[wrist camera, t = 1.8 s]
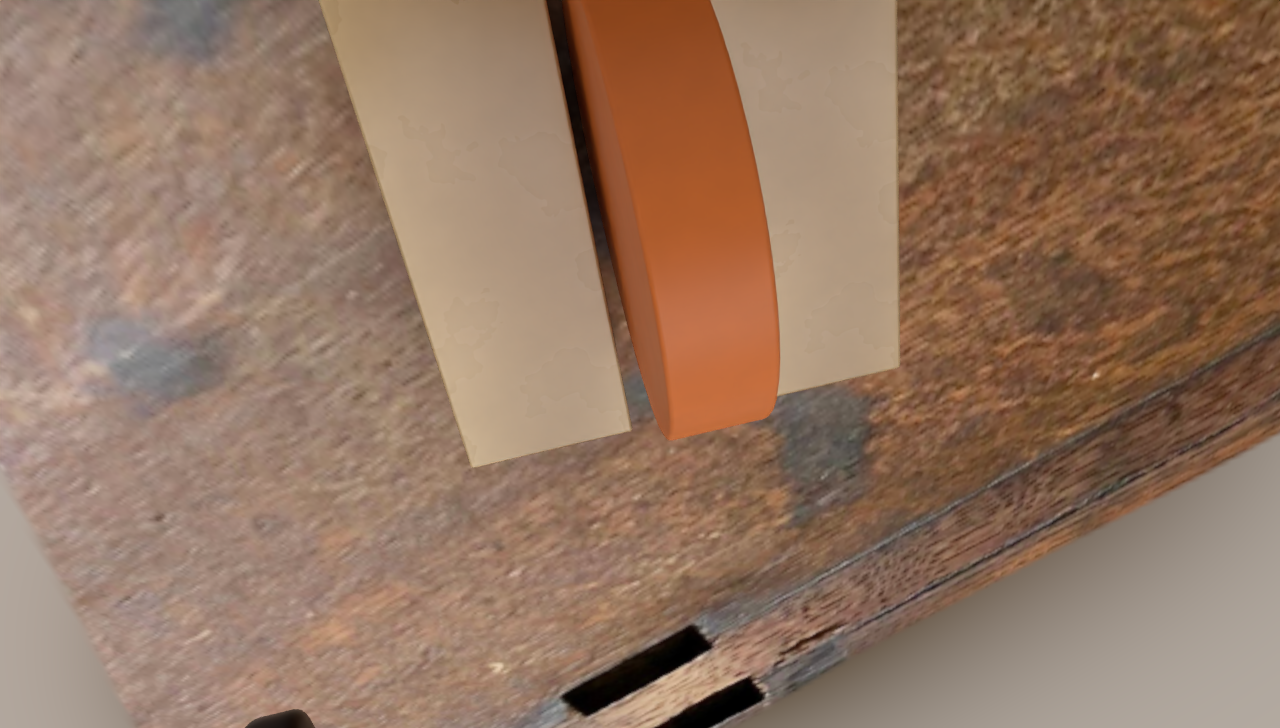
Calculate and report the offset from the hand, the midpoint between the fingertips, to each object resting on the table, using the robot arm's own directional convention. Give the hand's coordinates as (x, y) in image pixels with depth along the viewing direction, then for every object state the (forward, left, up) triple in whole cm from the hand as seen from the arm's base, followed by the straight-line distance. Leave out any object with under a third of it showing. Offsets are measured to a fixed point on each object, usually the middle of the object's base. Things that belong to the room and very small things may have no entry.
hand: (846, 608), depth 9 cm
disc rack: (0, 0, -12) cm, 12 cm away
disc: (0, 0, -12) cm, 12 cm away
